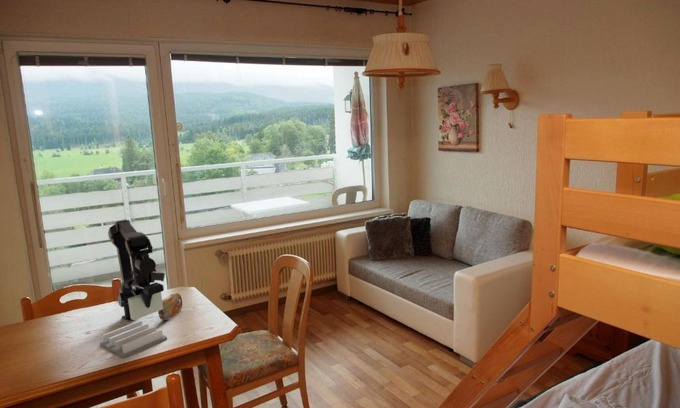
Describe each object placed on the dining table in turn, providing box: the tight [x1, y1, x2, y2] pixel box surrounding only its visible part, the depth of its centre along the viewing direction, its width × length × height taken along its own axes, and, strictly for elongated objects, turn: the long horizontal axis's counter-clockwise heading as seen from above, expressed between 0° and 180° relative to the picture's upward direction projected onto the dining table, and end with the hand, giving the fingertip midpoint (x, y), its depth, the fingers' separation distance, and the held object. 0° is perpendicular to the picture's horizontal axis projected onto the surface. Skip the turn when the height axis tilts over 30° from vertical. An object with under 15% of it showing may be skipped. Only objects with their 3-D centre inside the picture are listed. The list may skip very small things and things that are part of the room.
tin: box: [157, 293, 183, 321], centre depth 201 cm, size 15×3×8 cm, turn 168°
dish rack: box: [99, 320, 168, 359], centre depth 179 cm, size 18×17×4 cm
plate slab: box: [128, 292, 163, 321], centre depth 181 cm, size 2×12×8 cm, turn 142°
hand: (146, 306), depth 181 cm, fingers closed on plate slab, 2 cm apart
